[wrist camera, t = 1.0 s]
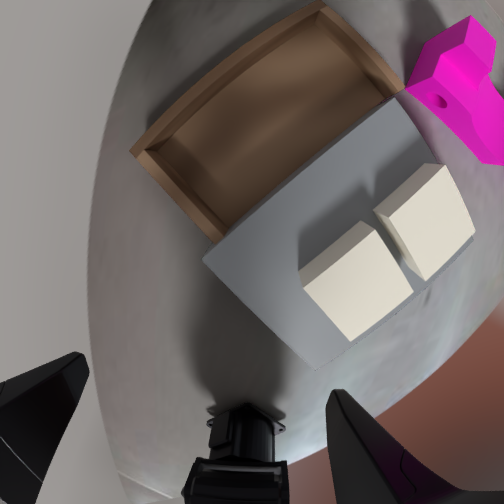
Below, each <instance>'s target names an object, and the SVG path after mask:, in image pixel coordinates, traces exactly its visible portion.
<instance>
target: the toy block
mask: <svg viewBox="0 0 504 504" xmlns="http://www.w3.org/2000/svg"><path fill="white" fill-rule="evenodd" d="M495 48H496V40H495V39H494V38H493V37H492V36H491V35H490V34H489V33H488V32H487V31H486V30H485V29H484V28H483V27H482V26H481V25H480V24H479V23H478V22H477V21H476V20H475V19H474V18H473V17H472V16H471V15H470V16H468V17H466V18H465V19H463V20H461V21H459V22H458V23H456V24H454V25H453V26H451V27H449V28H448V29H446V30H445V31H443V32H441V33H440V34H438V35H436V36H435V37H433V38H432V39H430V40H429V41H427V42H426V43H425V44H424V46H423V49H422V51H421V53H420V56H419V58H418V60H417V63H416V65H415V67H414V70H413V72H412V74H411V76H410V79H409V81H408V83H407V85H406V87H405V90H406V91H408V92H409V93H410V94H412V95H413V96H414V97H415V98H416V99H418V100H419V101H420V102H421V103H422V104H424V105H425V106H426V107H427V108H428V109H429V110H431V111H432V112H433V113H434V114H435V115H436V116H437V117H438V118H439V119H440V120H442V121H443V122H444V123H445V124H446V125H447V126H448V127H449V128H450V129H451V130H452V131H453V132H454V133H455V134H456V135H457V136H458V137H459V138H460V139H461V140H462V141H463V142H464V144H465V145H466V146H467V147H468V148H469V149H470V150H471V151H472V152H473V153H474V155H475V156H476V157H477V158H478V159H479V160H480V161H481V163H484V164H493V165H502V166H504V99H503V98H502V97H501V96H500V94H499V93H498V92H497V90H496V89H495V87H494V86H493V84H492V82H491V80H490V78H489V76H488V73H490V72H491V70H492V65H493V60H494V54H495Z"/></svg>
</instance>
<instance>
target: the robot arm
mask: <svg viewBox="0 0 504 504" xmlns="http://www.w3.org/2000/svg"><path fill="white" fill-rule="evenodd" d="M88 377H89V367H88V365H87V362H86V358H85V356H84V354H82V353H79V352H72V353H70V354H67V355H65V356H63V357H60V358H58V359H56V360H53V361H51V362H49V363H46V364H44V365H42V366H39V367H37V368H35V369H32V370H30V371H28V372H25V373H23V374H20V375H18V376H16V377H13V378H11V379H8V380H6V381H4V382H1V383H0V504H35V503H36V499H37V497H38V494H39V492H40V489H41V486H42V484H43V481H44V478H45V475H46V473H47V471H48V468H49V466H50V463H51V461H52V459H53V456H54V454H55V452H56V450H57V447H58V445H59V443H60V440H61V438H62V436H63V434H64V432H65V430H66V428H67V426H68V423H69V422H70V419H71V417H72V415H73V413H74V411H75V409H76V407H77V405H78V403H79V400H80V397H81V395H82V392H83V389H84V387H85V384H86V382H87V379H88ZM206 425H207V426H208V427H210V428H211V434H210V439H209V448H211V451H210V456H209V459H204V458H202V457H197V458H196V460H195V463H193V465H192V468H191V471H190V473H189V476H188V478H187V481H186V483H185V486H184V487H183V489H182V491H181V495H182V496H183V497H184V500H185V504H289V480H288V469H287V460H285V461H279V462H275V435H278V434H280V433H282V432H284V431H285V430H286V429H285V426H284V425H283V424H281V423H279V422H278V421H276V420H275V419H273V418H272V417H270V416H269V415H267V414H266V413H264V412H263V411H261V410H260V409H258V408H257V407H256V406H254V405H253V404H251V403H248V402H247V403H244V404H242V405H240V406H238V407H236V408H234V409H231V410H229V411H227V412H225V413H223V414H221V415H219V416H217V417H214V418H212V419H210V420H208V421H207V424H206ZM326 428H327V446H328V452H329V459H330V464H331V471H332V477H333V483H334V489H335V496H336V501H337V504H504V491H467V490H462V489H459V488H457V487H455V486H453V485H452V484H450V483H449V482H447V481H446V480H444V479H443V478H441V477H440V476H438V475H437V474H435V473H434V472H433V471H431V470H430V469H429V468H427V467H426V466H424V465H423V464H422V463H421V462H420V461H418V460H417V459H416V458H415V457H414V456H413V455H412V454H411V453H409V452H408V451H407V450H406V449H404V447H403V446H402V445H401V444H400V443H399V442H398V441H396V440H395V438H394V437H392V436H391V435H390V434H389V433H388V432H387V431H386V430H385V429H384V428H383V427H382V426H381V425H380V424H379V423H378V422H377V421H376V420H375V419H374V418H373V417H372V416H371V415H370V414H369V413H368V412H367V411H366V410H365V409H364V408H363V407H362V406H361V405H360V404H359V403H358V402H357V401H356V400H355V399H354V398H353V397H352V396H351V395H350V394H349V393H348V392H347V391H346V390H344V389H334V390H332V391H331V394H330V396H329V399H328V401H327V404H326Z"/></svg>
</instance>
